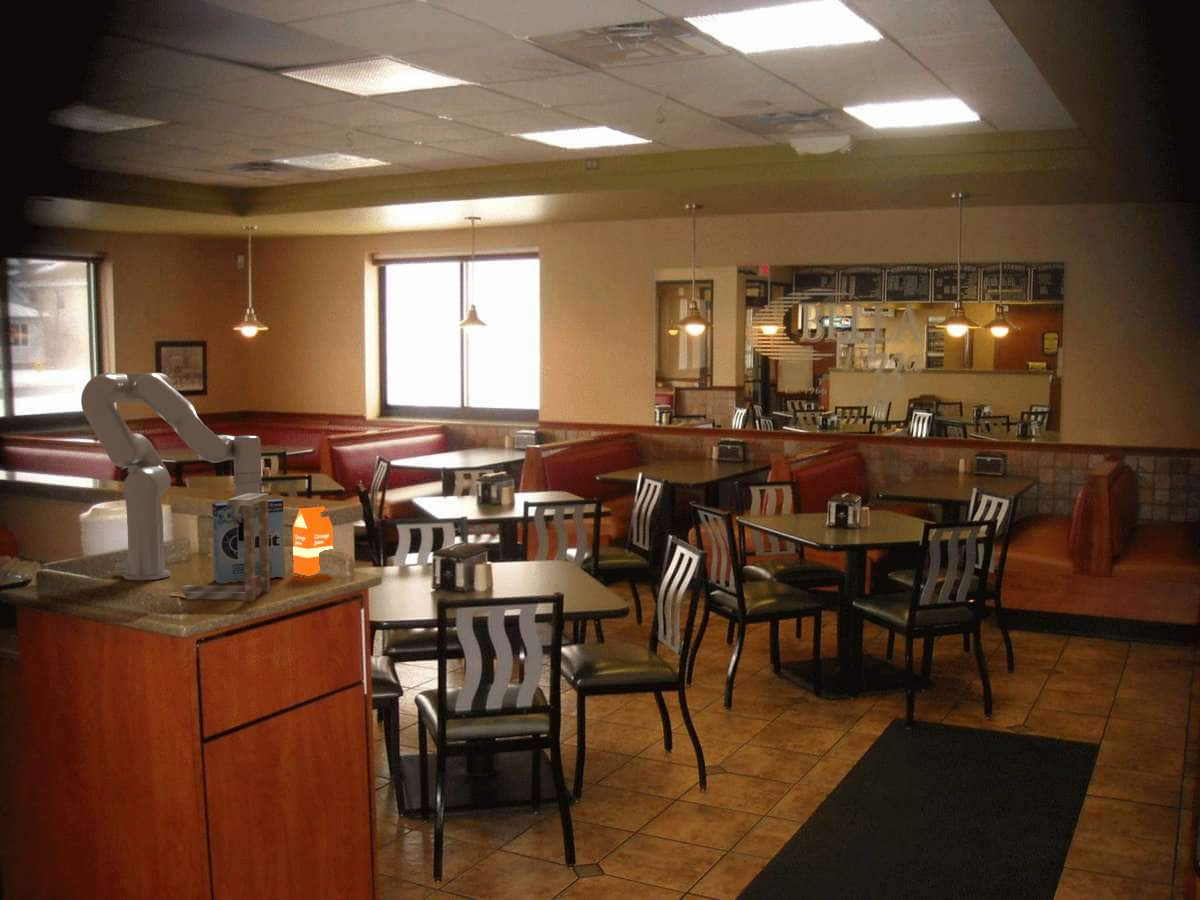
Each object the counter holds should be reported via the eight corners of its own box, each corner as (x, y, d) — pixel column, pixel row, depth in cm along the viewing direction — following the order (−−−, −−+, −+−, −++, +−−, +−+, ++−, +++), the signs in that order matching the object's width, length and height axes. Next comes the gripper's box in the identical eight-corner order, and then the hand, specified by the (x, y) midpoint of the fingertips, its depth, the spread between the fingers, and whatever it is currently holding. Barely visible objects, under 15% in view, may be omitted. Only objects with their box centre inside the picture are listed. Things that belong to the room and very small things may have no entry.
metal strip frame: (165, 601, 294) (162, 499, 292) (188, 589, 309) (185, 493, 307) (252, 601, 294) (250, 499, 292) (270, 590, 309) (268, 493, 307)
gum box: (280, 575, 332) (279, 498, 330) (286, 577, 327) (284, 500, 326) (213, 581, 321) (211, 502, 319) (218, 584, 317) (216, 504, 315)
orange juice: (333, 573, 334) (332, 507, 332) (308, 578, 327) (306, 510, 326) (318, 570, 339) (317, 505, 337) (293, 574, 332) (291, 507, 331)
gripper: (245, 475, 331) (246, 533, 332) (224, 481, 314) (225, 543, 315) (270, 475, 331) (271, 534, 332) (250, 481, 313) (252, 543, 315)
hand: (249, 538), depth 323 cm, fingers closed on gum box, 8 cm apart
